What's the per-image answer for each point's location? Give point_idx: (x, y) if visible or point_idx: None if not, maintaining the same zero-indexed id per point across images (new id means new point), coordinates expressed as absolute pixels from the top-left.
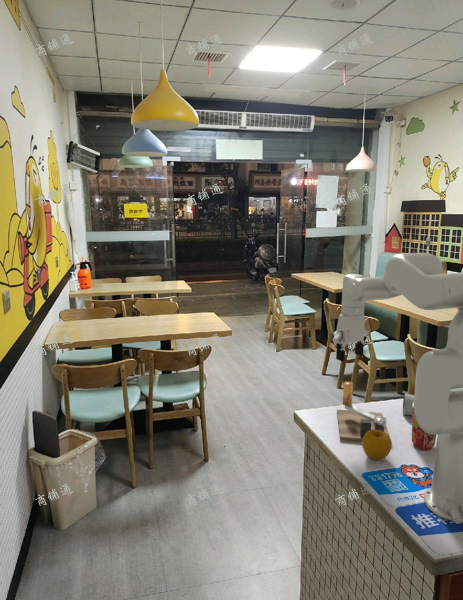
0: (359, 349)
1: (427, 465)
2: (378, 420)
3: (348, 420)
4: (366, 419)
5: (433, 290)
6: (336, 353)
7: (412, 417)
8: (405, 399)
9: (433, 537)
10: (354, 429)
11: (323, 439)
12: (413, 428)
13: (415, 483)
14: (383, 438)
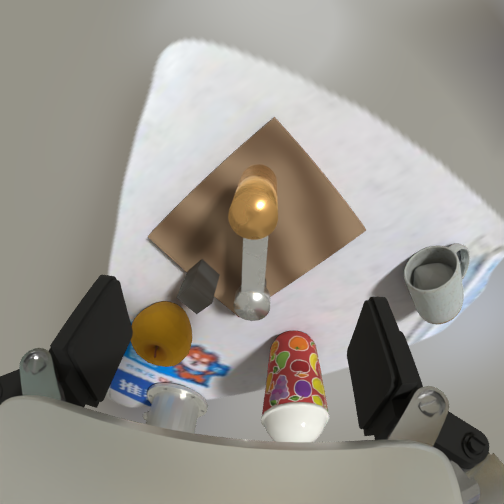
0: (362, 378)
1: (235, 366)
2: (238, 309)
3: None
4: (201, 297)
5: None
6: (78, 305)
7: (277, 381)
8: (423, 291)
9: (122, 395)
10: (208, 237)
11: (121, 202)
12: (272, 366)
13: (175, 369)
14: (154, 364)
